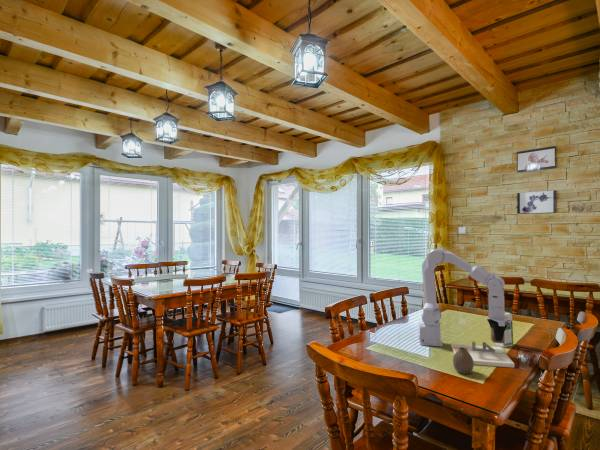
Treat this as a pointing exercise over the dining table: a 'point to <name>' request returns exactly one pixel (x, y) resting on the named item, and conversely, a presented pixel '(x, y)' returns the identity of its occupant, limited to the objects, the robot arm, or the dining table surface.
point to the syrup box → (507, 332)
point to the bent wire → (483, 348)
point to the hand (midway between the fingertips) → (497, 338)
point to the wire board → (486, 356)
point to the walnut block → (494, 337)
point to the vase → (463, 361)
